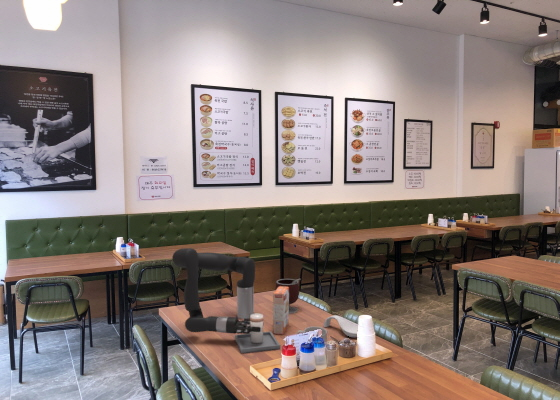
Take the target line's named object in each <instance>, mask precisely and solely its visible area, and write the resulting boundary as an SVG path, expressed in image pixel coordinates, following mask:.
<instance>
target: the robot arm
mask: <svg viewBox="0 0 560 400" xmlns="http://www.w3.org/2000/svg"><path fill="white" fill-rule="evenodd" d="M172 262H173V264H174V265H175V266H176V267H177V268H185V269H186V274H187V275H186V282H185V286H184V290H183V300H184V308H185V310H186V311H187V312H188V315H189V317H188V318H187V319H186V320H185V322H184V327H185V329H186V330H187V331H189V332H192V333H201V332H215V333H216V332H217V333H221V334H222V333H223V334H234V335H238V334H250V332H260V331H261V328H260V327H252V326H250V315H251V314H254V313H255V312H254V311H255V310H254V309H255V307H254V306H255V304H254V299H255V298H254V296H255V295H254V294H255V292H254V288H255V287H254V283H255V280H256V262H255V260H254V259H253V258H250V257H246V256H228V255H226V254H224V253H219V252H197V250H196V249H194V248H193V247H191V248H190V247H186V248H180V249H177V250H175V252H173V255H172ZM199 269H201V270H207V271H213V272H224V271H231V272H234V273H237V274H242V278H241V279H238V280H237V281H236V305H237V307H236V309H237V310H236V312H237V313H236V314H237V315H236V316H216V315H215V316H212V315H210V316H206V317H204V315H203V310H202V307H201V305H200V297H199V286H198V285H199ZM239 319H243V320H239ZM263 327H264V322H263Z"/></svg>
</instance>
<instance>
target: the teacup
mask: <svg viewBox="0 0 560 400" xmlns="http://www.w3.org/2000/svg"><path fill="white" fill-rule="evenodd" d="M317 329H321V330H322V335H321V337H322V338H323V339H324V341H325V342H326V343H327V341H328V330H327V329H326V328H325V327H322V326H317V325H316V326H312V325H311V326H308V327H306V328H304V330H301V329H299V330H297V332H296V335H297V334H299V335H300V333H301V334H303V333H306V332H309V331H314V330H317Z"/></svg>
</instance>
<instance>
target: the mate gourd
mask: <svg viewBox="0 0 560 400" xmlns="http://www.w3.org/2000/svg"><path fill="white" fill-rule="evenodd" d="M299 281H301V278H298V279H293V278H281V279H278V280H276V284H275V289H274V290H275V291H276V289H277V288H278V287H279V286H282V287H289V315H292V313H293V314H296V313H298V312H299V309H298V307H296V306H291V305H293V304H295V303H296V302H297V301H298V300H299V297H300V283H299ZM275 291H274V292H275ZM297 311H298V312H297Z"/></svg>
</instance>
